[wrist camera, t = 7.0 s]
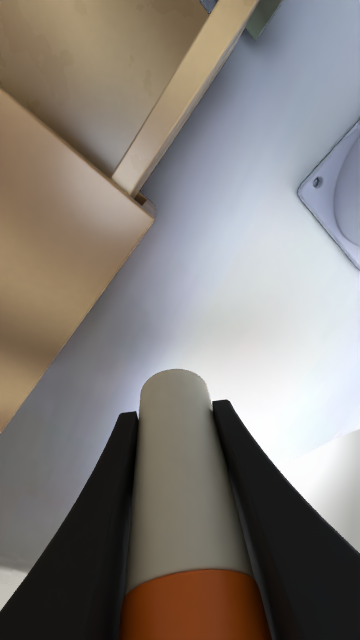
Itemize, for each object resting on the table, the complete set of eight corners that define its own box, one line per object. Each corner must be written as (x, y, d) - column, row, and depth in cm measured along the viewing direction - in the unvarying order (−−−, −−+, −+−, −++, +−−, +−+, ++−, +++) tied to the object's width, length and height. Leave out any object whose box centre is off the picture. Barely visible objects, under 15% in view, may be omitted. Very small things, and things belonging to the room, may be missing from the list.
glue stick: (133, 372, 11) (88, 720, 4) (207, 363, 11) (299, 686, 4) (145, 422, 12) (129, 730, 5) (209, 413, 12) (276, 706, 5)
